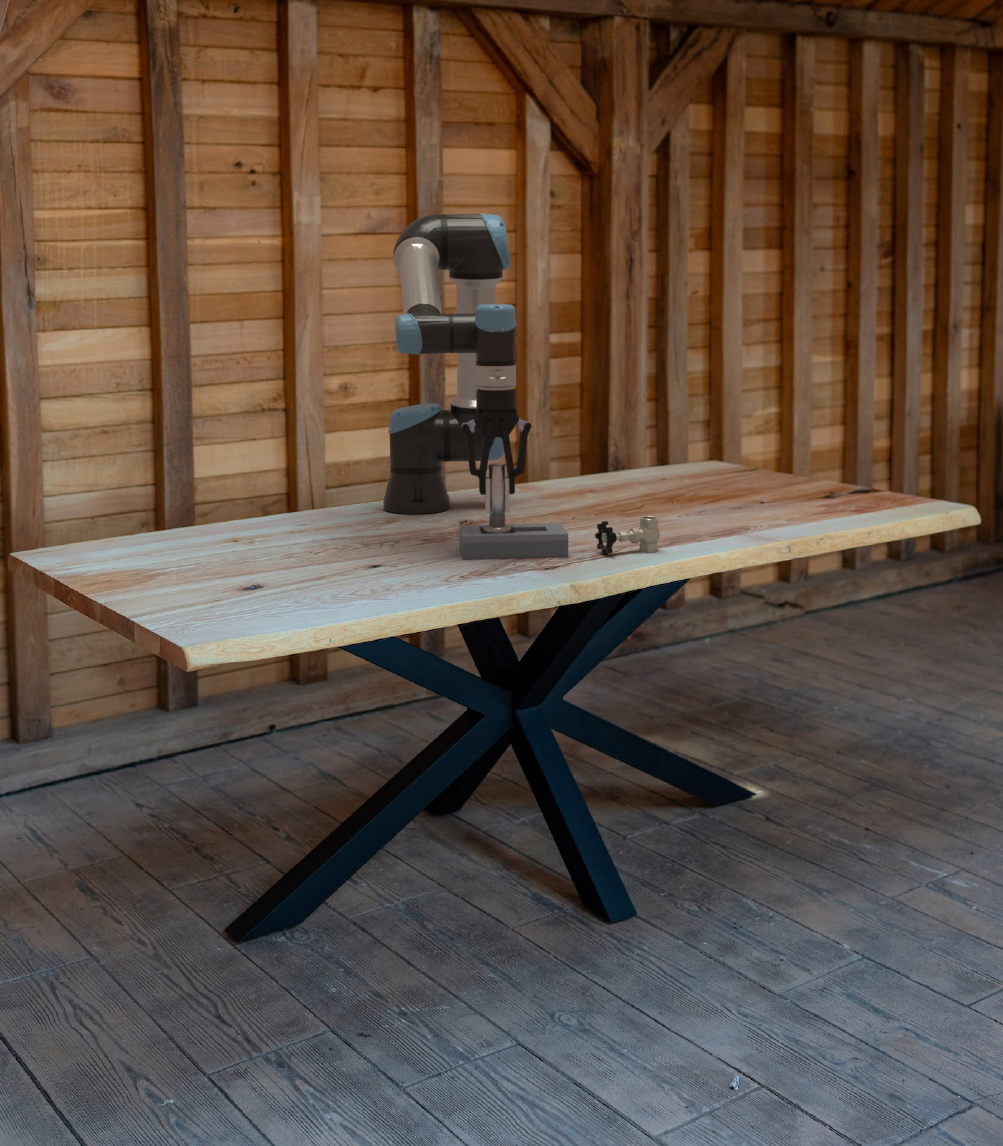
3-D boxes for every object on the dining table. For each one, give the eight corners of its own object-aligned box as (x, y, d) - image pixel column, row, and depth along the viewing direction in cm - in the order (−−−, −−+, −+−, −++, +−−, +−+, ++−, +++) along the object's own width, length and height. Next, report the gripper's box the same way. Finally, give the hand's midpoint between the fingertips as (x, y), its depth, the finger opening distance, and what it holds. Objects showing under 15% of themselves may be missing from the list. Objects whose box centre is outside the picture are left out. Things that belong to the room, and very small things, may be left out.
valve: (650, 546, 265) (594, 552, 261) (650, 513, 263) (595, 518, 259) (666, 553, 259) (609, 558, 255) (666, 519, 257) (610, 524, 253)
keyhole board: (463, 559, 254) (462, 536, 253) (459, 547, 265) (459, 525, 264) (568, 556, 256) (568, 533, 255) (560, 544, 267) (560, 522, 266)
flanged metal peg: (478, 535, 259) (477, 465, 256) (495, 530, 263) (494, 461, 260) (499, 538, 256) (499, 467, 253) (516, 533, 260) (516, 464, 257)
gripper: (454, 390, 249) (456, 515, 254) (540, 389, 250) (541, 513, 255) (452, 386, 256) (454, 508, 261) (536, 385, 257) (536, 506, 263)
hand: (497, 511), depth 258 cm, fingers closed on flanged metal peg, 3 cm apart
